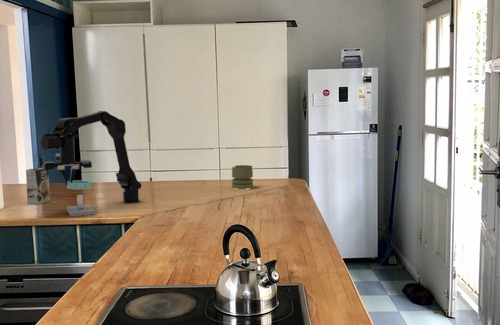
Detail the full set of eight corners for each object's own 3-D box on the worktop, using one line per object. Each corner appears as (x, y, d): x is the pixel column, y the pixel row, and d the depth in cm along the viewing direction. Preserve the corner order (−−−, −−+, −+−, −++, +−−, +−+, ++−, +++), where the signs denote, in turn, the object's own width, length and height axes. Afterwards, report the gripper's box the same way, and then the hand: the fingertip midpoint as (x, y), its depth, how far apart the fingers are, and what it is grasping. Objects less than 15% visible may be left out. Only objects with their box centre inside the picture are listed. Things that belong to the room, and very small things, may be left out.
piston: (254, 165, 288) (250, 167, 277) (254, 186, 289) (250, 190, 278) (234, 165, 290) (229, 167, 279) (235, 186, 291) (229, 189, 280)
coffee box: (39, 204, 242) (37, 169, 241) (27, 203, 244) (25, 169, 242) (50, 200, 251) (48, 167, 249) (38, 200, 252) (36, 167, 251)
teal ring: (89, 186, 229) (89, 180, 229) (92, 189, 220) (92, 183, 220) (65, 186, 225) (66, 180, 225) (68, 189, 216) (68, 183, 216)
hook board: (90, 208, 233) (89, 191, 232) (95, 214, 219) (94, 196, 218) (66, 210, 229) (65, 193, 228) (70, 216, 215) (69, 198, 214)
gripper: (87, 146, 230) (88, 181, 232) (42, 147, 222) (43, 184, 224) (91, 148, 220) (92, 184, 222) (43, 149, 212) (45, 187, 214)
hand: (68, 185), depth 221 cm, fingers closed on teal ring, 1 cm apart
